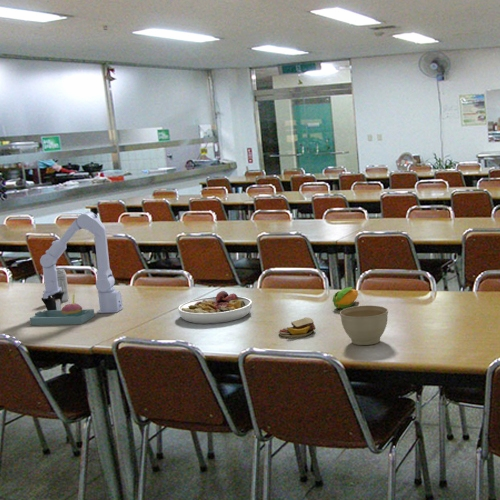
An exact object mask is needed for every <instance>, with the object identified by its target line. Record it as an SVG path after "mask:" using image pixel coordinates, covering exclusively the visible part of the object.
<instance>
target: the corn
mask: <svg viewBox="0 0 500 500" xmlns="http://www.w3.org/2000/svg"><path fill="white" fill-rule="evenodd" d="M358 296H359V292H358V290H357V289H353V286H348V287H345V288H343V289H341V290H340V291H339V290H338V291H337V292H335V293H334V294H333V296H332V302H333V305H334V307H335V308H336V309H341V310H343V309H346V308H350V307H352V306H353V305H354V304H355V303H356V302H357V301H356V300H357V298H358Z"/></svg>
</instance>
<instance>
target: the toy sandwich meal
mask: <svg viewBox="0 0 500 500" xmlns="http://www.w3.org/2000/svg"><path fill="white" fill-rule="evenodd" d="M290 324H291V326H289V327H285V328H284V327H283V328H281V329H280V330H279V331H278V334H279V335H280V336H281V337H284V338H288V339H296V338H297V339H299V338H304V337H308V336H310V335H311V334H312V333H313V332H314V331H316V325H315V323H314V320H313V318H311V317H302V318H299V319H297V320H293V321H291V323H290Z"/></svg>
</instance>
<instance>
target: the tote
mask: <svg viewBox="0 0 500 500" xmlns="http://www.w3.org/2000/svg"><path fill="white" fill-rule="evenodd" d="M92 318H95V309H93V308H88V309H83V308H82V312H81V313H80V316H75V317H66V316H65V315H64V314H62V309H61V310H47V309H46V310H42V311H40V310H39V311H37V312H35V313H34V316H31V317H30V318H29V321H30V325H31V326H50V325H51V326H52V325H56V326H57V325H58V326H59V325H83V324H84V323H86V322H87V321H89V320H90V319H92Z"/></svg>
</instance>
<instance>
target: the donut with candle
mask: <svg viewBox="0 0 500 500" xmlns="http://www.w3.org/2000/svg"><path fill="white" fill-rule="evenodd" d="M82 309H83V307H82V306H81V304H78V303H75V293H73V294H72V303H69V304H65V305H64V306H63V307H61V310H62V314H64V315H65V316H66V317H75V316H80V313H81V312H82Z"/></svg>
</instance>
